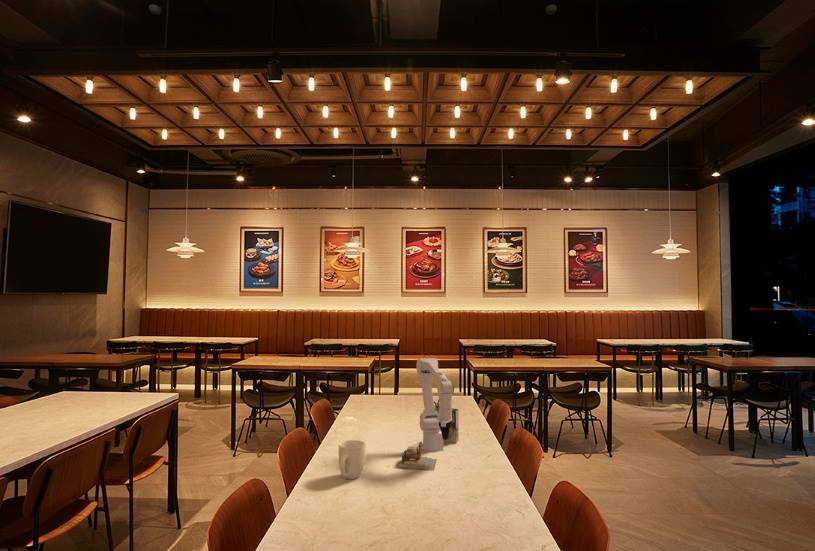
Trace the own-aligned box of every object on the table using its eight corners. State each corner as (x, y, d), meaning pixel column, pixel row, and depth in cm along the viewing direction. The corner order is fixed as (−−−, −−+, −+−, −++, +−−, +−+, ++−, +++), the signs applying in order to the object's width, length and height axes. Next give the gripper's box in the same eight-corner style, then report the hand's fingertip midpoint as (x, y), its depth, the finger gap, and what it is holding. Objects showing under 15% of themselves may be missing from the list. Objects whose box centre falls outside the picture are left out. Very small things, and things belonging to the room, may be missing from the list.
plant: (454, 420, 273) (454, 402, 274) (422, 419, 275) (422, 401, 276) (453, 413, 293) (453, 395, 294) (423, 412, 295) (423, 394, 296)
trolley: (421, 456, 200) (421, 441, 200) (420, 461, 195) (420, 445, 195) (407, 455, 201) (407, 440, 201) (405, 460, 196) (405, 444, 196)
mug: (354, 487, 172) (355, 452, 173) (328, 483, 175) (329, 449, 176) (369, 473, 186) (369, 441, 187) (345, 470, 189) (345, 438, 190)
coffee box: (458, 440, 233) (459, 408, 234) (456, 443, 227) (456, 411, 228) (442, 438, 236) (442, 407, 237) (438, 441, 230) (439, 409, 231)
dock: (436, 459, 203) (436, 449, 203) (433, 471, 189) (434, 460, 190) (404, 457, 205) (404, 447, 206) (399, 468, 192) (399, 458, 192)
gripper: (438, 404, 209) (438, 433, 208) (434, 411, 195) (433, 443, 194) (454, 405, 207) (453, 434, 207) (450, 412, 193) (450, 444, 192)
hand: (445, 439), depth 200 cm, fingers closed
